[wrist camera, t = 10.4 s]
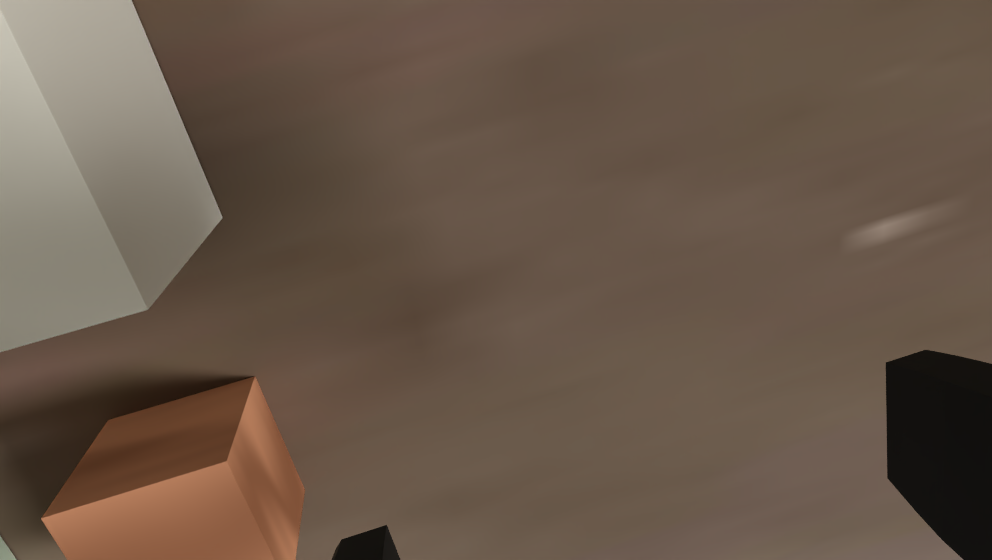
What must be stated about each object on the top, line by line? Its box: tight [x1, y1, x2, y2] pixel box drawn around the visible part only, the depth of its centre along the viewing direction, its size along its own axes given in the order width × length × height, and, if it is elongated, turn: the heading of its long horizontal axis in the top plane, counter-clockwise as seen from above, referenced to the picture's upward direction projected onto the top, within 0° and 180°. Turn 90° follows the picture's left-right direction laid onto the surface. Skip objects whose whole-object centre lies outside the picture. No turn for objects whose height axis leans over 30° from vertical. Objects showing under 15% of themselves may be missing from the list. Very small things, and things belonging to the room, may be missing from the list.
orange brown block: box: [41, 376, 305, 560], centre depth 17 cm, size 4×4×4 cm
